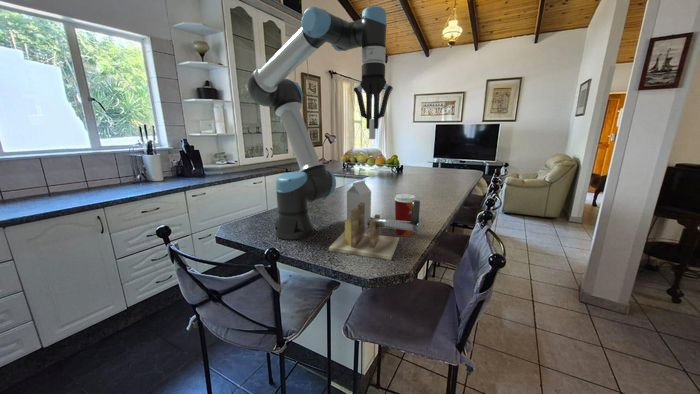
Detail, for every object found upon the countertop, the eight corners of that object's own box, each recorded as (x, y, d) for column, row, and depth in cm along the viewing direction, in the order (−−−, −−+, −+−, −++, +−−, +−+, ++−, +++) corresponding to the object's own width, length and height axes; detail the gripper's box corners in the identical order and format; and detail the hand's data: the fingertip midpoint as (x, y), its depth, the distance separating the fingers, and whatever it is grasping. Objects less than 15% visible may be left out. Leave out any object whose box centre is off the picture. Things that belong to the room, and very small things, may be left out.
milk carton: (370, 226, 115) (371, 181, 111) (359, 230, 110) (359, 184, 106) (358, 222, 120) (358, 179, 115) (346, 226, 115) (346, 181, 110)
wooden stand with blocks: (328, 250, 92) (328, 210, 89) (345, 233, 107) (344, 199, 103) (390, 260, 86) (392, 217, 82) (399, 240, 100) (400, 203, 97)
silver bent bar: (366, 229, 92) (367, 198, 90) (370, 225, 96) (370, 195, 94) (418, 235, 87) (421, 203, 84) (420, 231, 91) (422, 199, 88)
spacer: (345, 244, 94) (344, 222, 92) (352, 236, 102) (352, 215, 100) (352, 245, 93) (352, 223, 91) (358, 236, 101) (359, 216, 99)
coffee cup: (414, 238, 103) (416, 199, 99) (392, 236, 104) (393, 198, 101) (414, 230, 111) (416, 194, 107) (393, 228, 112) (394, 193, 109)
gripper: (350, 63, 87) (350, 139, 92) (391, 59, 82) (388, 139, 88) (357, 67, 93) (357, 138, 99) (395, 64, 89) (393, 138, 95)
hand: (372, 138), depth 94 cm, fingers closed
